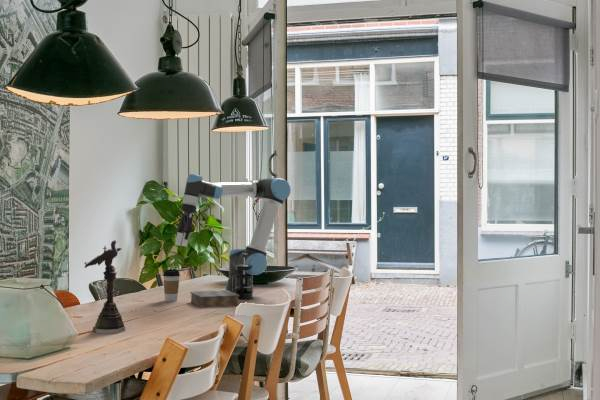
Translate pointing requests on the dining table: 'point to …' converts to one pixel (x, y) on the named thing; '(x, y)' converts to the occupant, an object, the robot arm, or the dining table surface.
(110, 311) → the bird statue
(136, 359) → the dining table surface
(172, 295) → the coffee cup
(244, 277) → the french press
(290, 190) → the robot arm
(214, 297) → the walnut stand
